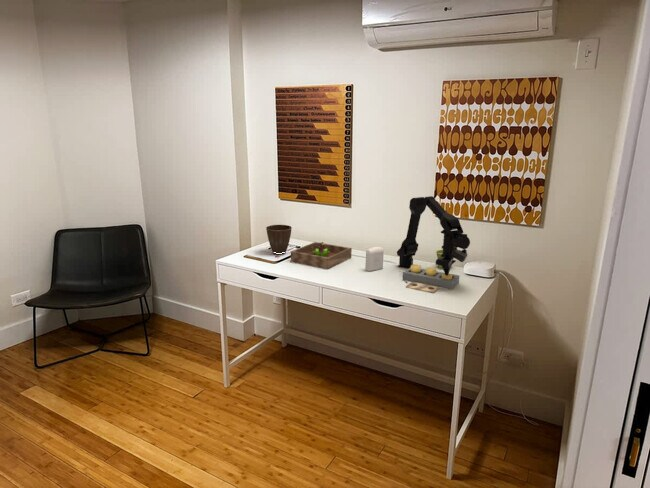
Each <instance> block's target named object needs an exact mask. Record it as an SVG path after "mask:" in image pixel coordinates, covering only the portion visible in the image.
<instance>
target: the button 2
mask: <svg viewBox="0 0 650 488" xmlns="http://www.w3.org/2000/svg"><path fill="white" fill-rule="evenodd" d="M425 269H426V275H428V276H433V277H435V276H436V271H437V268H436V267H433V266H432V267H426V268H425Z"/></svg>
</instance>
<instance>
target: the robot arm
mask: <svg viewBox="0 0 650 488" xmlns="http://www.w3.org/2000/svg"><path fill="white" fill-rule="evenodd" d="M408 206H409V207H408V209H409V211H410V218H409V223H408V227H407V233H406V237H405V239H404V240H402V243H401V245H400V248H398V250H397V251H396V254H397V256H398V257H399V259H398V261H399V262H398V265H397V267H399V268H403V269H409V268H410V267H411V265H414V258H413V256H415V255H416V253H417V252H418V248H419V243H418V242H417V240H416V239H417V235H418V231H419V230H418V229H419V225H420V220H421V216H422V214H424V212H425V211H426V209H427V207H428V208H429V210H430V211H431V212H432V213H433V214H434V215H435V216H436V218H438V220H439V224H440V226H441V228H442V229H443V230H441V231H440V233H441V234H443V239H442V240H443V241H442V245H441V250H443V253H442V254H441V257H440V258H438V259H436V260H435V265H437V266H438V265H441V266H442V268H441V269H442V270H443V273H445V275H448V274H450V271H451V269H452V266H453V264H455V263H456V261H458V262H460V263H464V262H466V259H467V258H468V250H467V249H468V248H469V246H470V245H471V240H470V238H469V237H468V234H466V233H464V230H463V227H462V225H461V223H460V219H459V218H458V217H456V216H455V215H453V214H450V213H449V212H447V210H446V209H444V207H443V206H442V205H441V204H440V203H439V202H438V201H437V200H436V198H435V197H434V196H432V195H430V196H429V195H428V196H425V197H424V196H418V197H411V199H410V200H409V205H408ZM458 248H459V249H458ZM461 249H462V250H461ZM442 257H444V258H442ZM454 259H456V260H454Z"/></svg>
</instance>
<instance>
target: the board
mask: <svg viewBox="0 0 650 488" xmlns="http://www.w3.org/2000/svg"><path fill="white" fill-rule="evenodd" d="M410 271H411V267H410V268H409V269H408V268H406V270H404V271H403V272H402V281H405V282H409V283H411V282H417V283H422V284H427V285H432V286H437V287H440V288H441V289H446V290H451V291H453V290H454V289H455V287H457V286H458V285H459V284H460V275H459V274H453V273H450V274H451V275H452V279H451V280H449V279H444V278H441V277H442V274H445V272H444V271H443V272H442V271H437V270H436V276H435V277H433V276H428V275H426V268H421V273H419V274H417V273H412V272H410Z"/></svg>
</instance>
